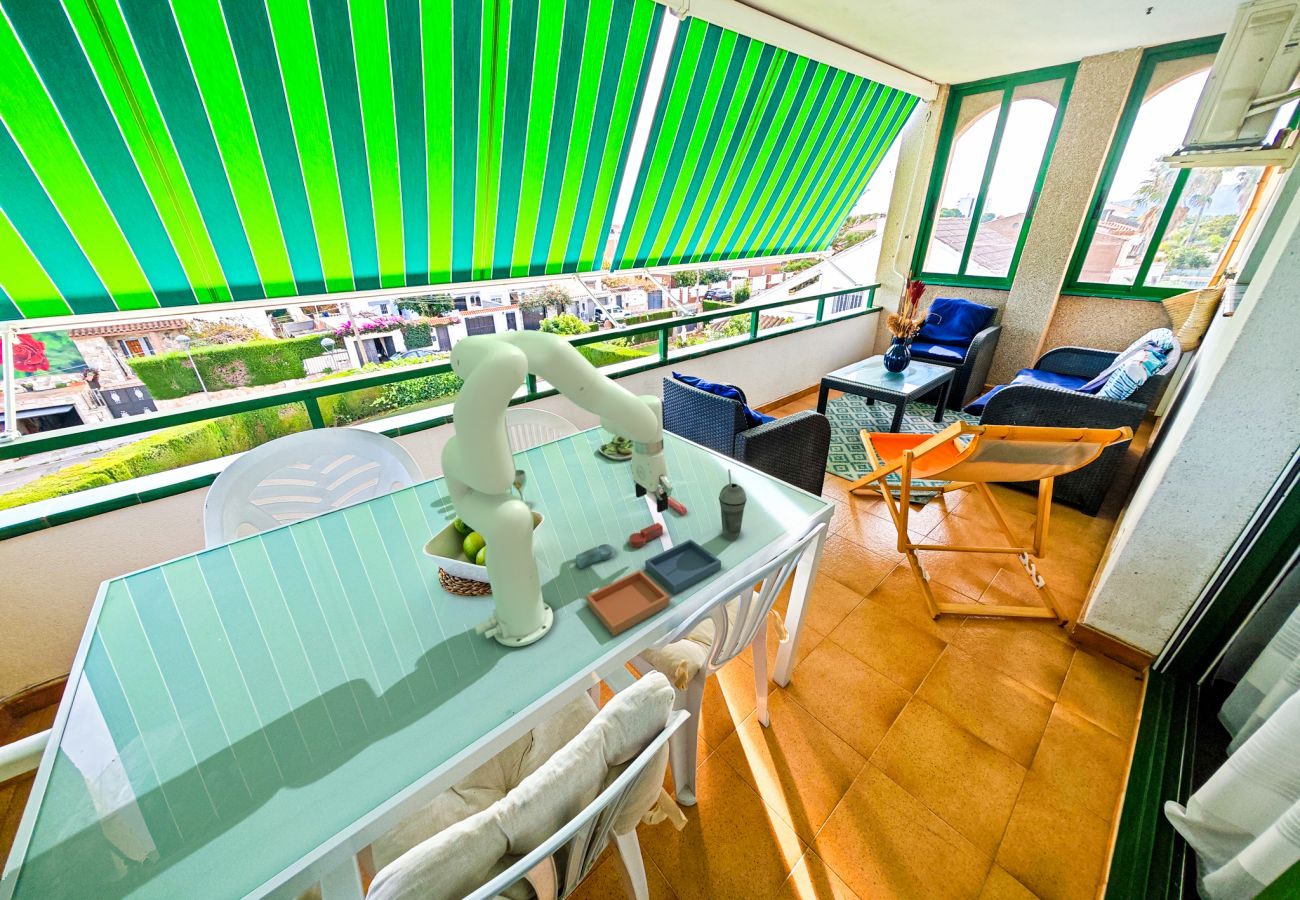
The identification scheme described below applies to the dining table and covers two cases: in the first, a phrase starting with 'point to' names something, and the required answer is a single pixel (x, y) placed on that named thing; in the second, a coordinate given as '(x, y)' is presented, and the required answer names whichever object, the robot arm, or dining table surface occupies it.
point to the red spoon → (645, 535)
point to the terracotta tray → (627, 602)
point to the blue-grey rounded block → (594, 555)
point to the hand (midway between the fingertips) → (651, 502)
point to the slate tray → (682, 566)
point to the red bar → (674, 504)
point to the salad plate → (617, 448)
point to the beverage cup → (732, 509)
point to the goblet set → (520, 483)
